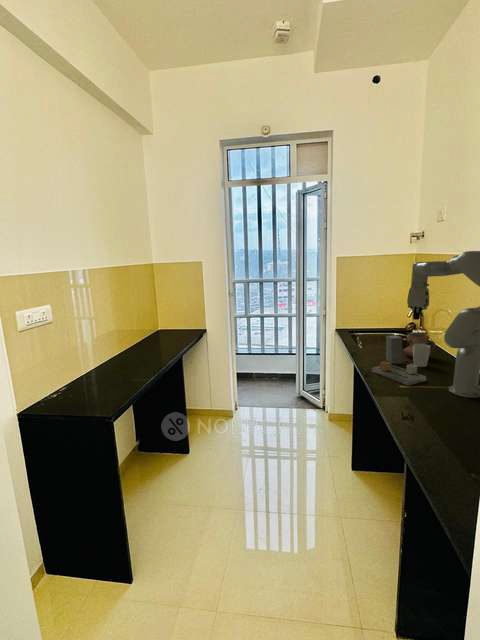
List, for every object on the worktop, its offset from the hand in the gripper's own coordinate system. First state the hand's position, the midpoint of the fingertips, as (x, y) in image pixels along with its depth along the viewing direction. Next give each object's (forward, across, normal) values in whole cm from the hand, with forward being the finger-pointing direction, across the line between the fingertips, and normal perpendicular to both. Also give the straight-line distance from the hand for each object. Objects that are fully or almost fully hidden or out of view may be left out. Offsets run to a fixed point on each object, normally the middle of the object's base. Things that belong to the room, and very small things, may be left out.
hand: (416, 319), depth 181 cm
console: (+29, -2, +14) cm, 33 cm away
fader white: (+26, -7, +10) cm, 29 cm away
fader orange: (+26, +3, +18) cm, 32 cm away
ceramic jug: (+29, +16, -26) cm, 42 cm away
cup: (+29, +4, -12) cm, 32 cm away
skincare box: (+29, +16, -4) cm, 34 cm away
